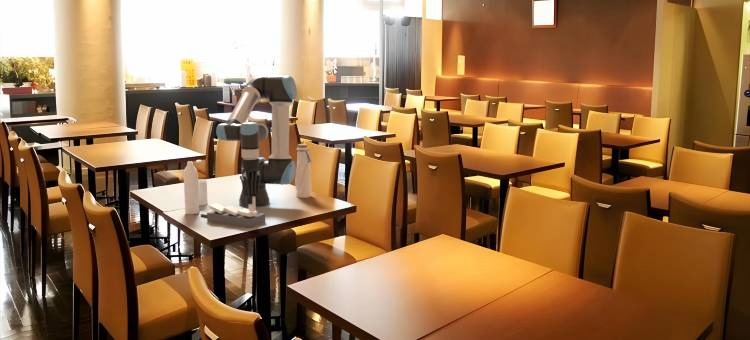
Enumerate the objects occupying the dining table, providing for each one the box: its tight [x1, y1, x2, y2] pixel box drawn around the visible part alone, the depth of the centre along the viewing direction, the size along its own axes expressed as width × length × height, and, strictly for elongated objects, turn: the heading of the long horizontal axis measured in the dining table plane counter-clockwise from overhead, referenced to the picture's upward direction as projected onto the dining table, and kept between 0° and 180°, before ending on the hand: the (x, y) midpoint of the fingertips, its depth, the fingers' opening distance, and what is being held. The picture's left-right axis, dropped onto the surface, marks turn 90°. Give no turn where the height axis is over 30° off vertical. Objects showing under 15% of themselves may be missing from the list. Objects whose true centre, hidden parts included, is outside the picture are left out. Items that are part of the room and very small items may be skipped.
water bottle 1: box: [182, 159, 202, 215], centre depth 290 cm, size 9×6×25 cm
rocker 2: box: [223, 204, 241, 216], centre depth 274 cm, size 5×7×1 cm
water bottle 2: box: [294, 143, 313, 199], centre depth 325 cm, size 10×9×28 cm
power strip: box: [200, 210, 266, 229], centre depth 278 cm, size 11×33×5 cm, turn 64°
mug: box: [198, 178, 209, 207], centre depth 306 cm, size 8×12×12 cm
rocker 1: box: [208, 202, 226, 214], centre depth 277 cm, size 5×7×1 cm
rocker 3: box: [237, 207, 258, 217], centre depth 271 cm, size 5×7×1 cm
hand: (252, 210), depth 269 cm, fingers closed
